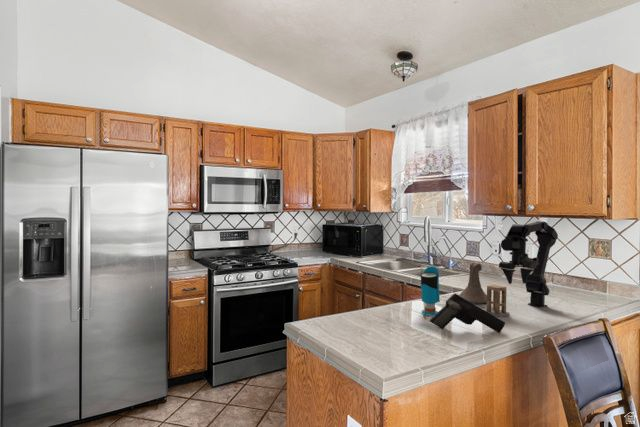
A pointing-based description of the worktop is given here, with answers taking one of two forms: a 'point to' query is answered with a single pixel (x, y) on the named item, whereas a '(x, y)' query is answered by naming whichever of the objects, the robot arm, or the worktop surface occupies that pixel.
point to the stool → (496, 298)
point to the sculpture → (474, 286)
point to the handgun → (465, 314)
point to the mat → (499, 314)
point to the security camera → (430, 290)
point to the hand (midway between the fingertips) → (517, 283)
